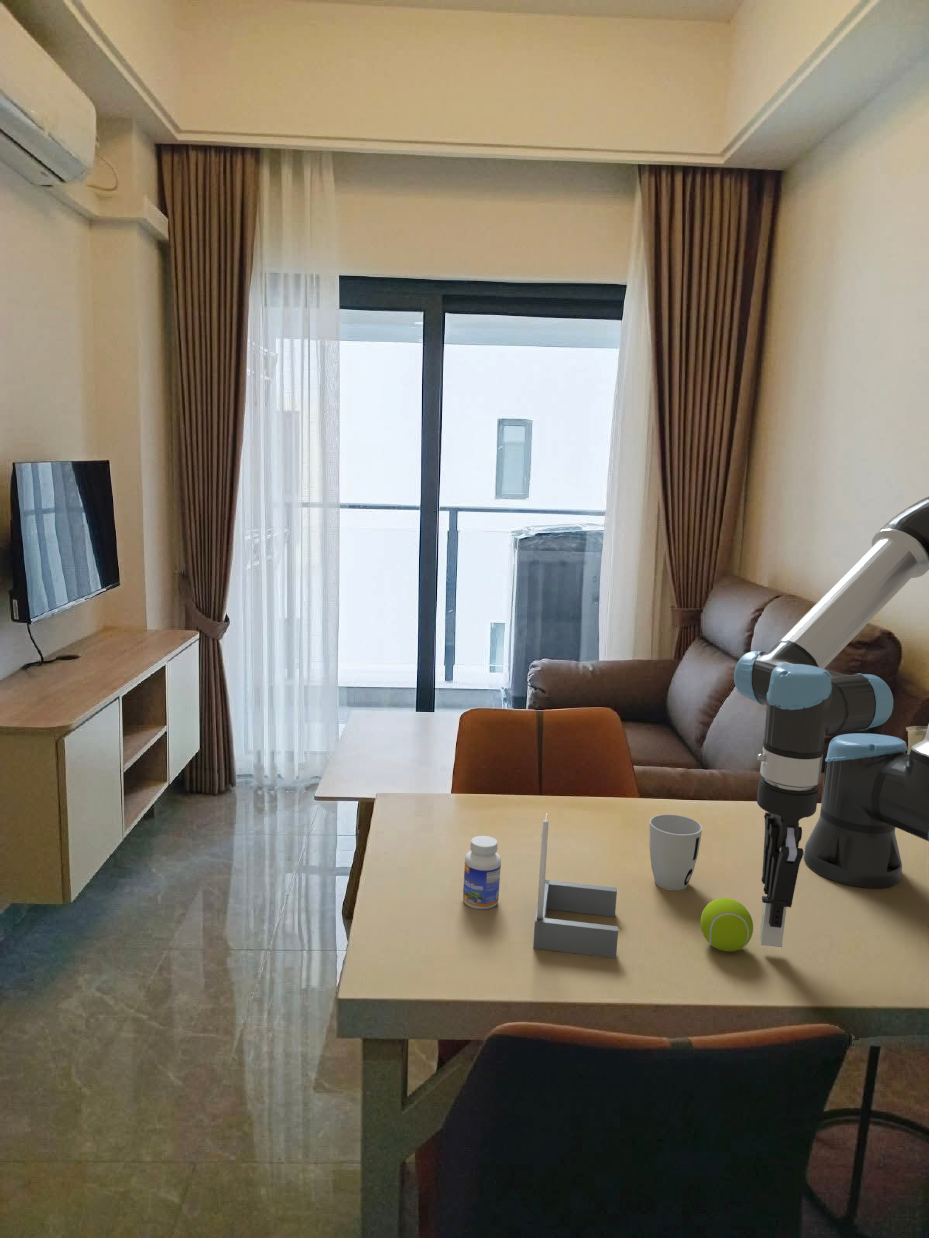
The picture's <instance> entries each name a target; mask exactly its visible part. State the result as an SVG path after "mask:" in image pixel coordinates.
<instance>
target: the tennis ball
mask: <svg viewBox="0 0 929 1238" xmlns="http://www.w3.org/2000/svg"><path fill="white" fill-rule="evenodd" d="M700 916H701V917H700V929H701V932H702V935H703V937H704V938H705V940H706V941H707V942H708V943H709V944H710V945H711V946H712V947H713V948H715V949H717V950H719V951H723V952H736V951H740V950H742V949H743V948H745V947H746V946H747V945H748V943H749V942H750V941H751V939H752V936H753V934H754V922H753V918H752V915H751V913H750V912H749V910H748V909H747V908H746V906H744V905H743V904H742V903H741V902H740V901H738V900H736V899H733V898H729V897H720V898H716V899H714V900H711V901H710V902H709V903H707V904H706V905H705V907H704V908H703V909H702V913H701V915H700Z"/></svg>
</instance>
